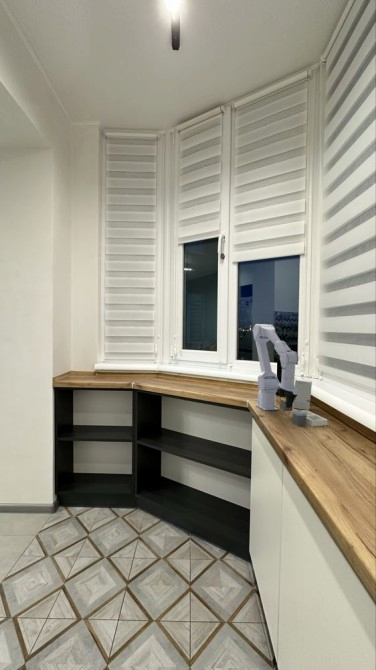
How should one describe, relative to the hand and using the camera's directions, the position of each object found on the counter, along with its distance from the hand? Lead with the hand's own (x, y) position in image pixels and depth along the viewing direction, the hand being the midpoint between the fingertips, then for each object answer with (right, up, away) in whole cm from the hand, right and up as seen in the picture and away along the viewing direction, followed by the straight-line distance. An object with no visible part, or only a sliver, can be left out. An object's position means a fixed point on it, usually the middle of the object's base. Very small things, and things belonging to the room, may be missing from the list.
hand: (286, 406), depth 140 cm
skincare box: (+14, -5, +17) cm, 23 cm away
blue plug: (+2, -6, -10) cm, 11 cm away
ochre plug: (0, -2, 0) cm, 2 cm away
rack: (+9, -6, -4) cm, 11 cm away
